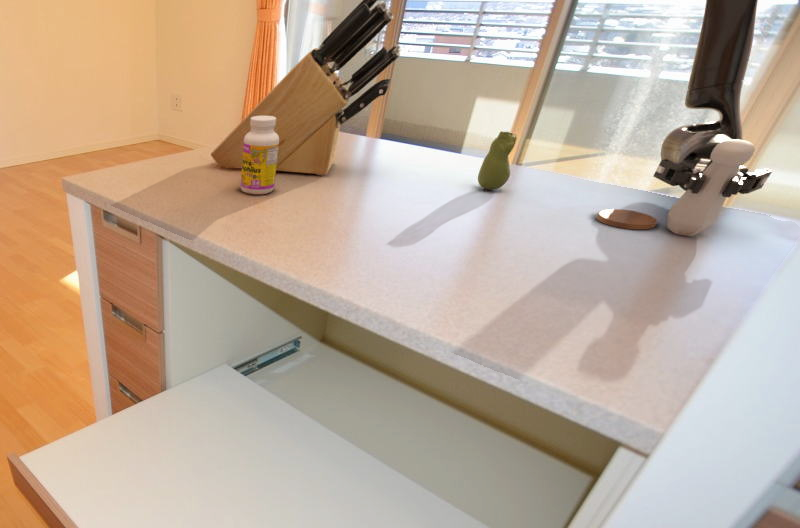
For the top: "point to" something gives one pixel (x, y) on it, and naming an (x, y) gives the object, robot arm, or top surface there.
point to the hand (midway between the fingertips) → (715, 187)
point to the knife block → (318, 96)
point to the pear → (497, 162)
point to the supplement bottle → (260, 156)
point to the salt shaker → (709, 189)
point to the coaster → (626, 219)
